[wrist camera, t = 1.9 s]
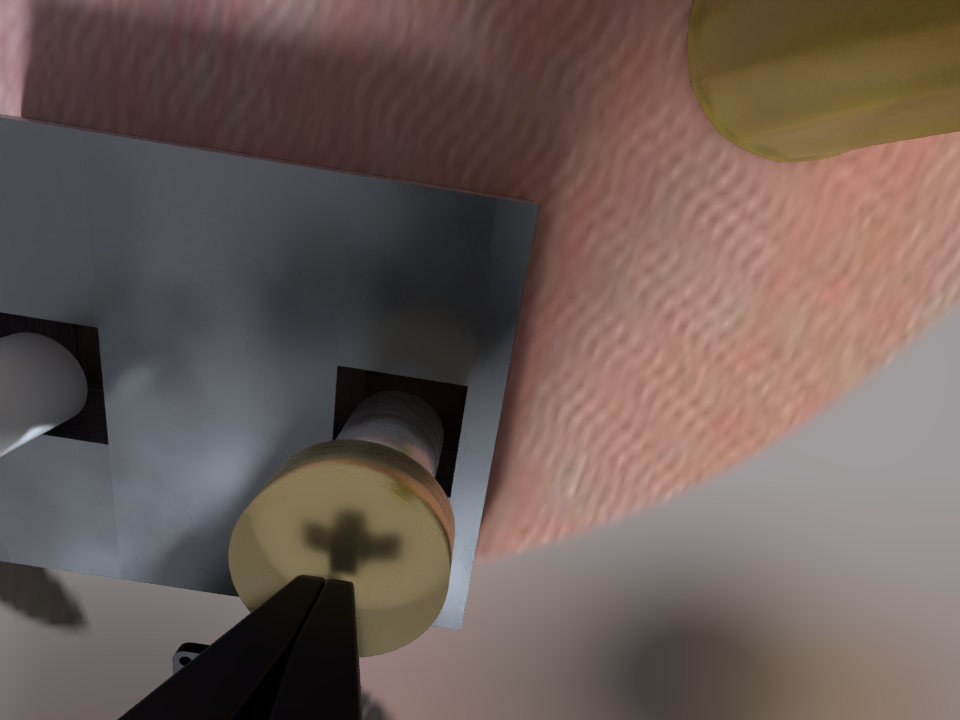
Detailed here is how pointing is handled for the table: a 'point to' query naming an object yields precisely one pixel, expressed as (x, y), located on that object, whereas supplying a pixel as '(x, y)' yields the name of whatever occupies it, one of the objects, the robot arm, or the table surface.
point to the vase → (825, 72)
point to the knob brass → (358, 522)
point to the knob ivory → (36, 388)
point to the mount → (235, 337)
